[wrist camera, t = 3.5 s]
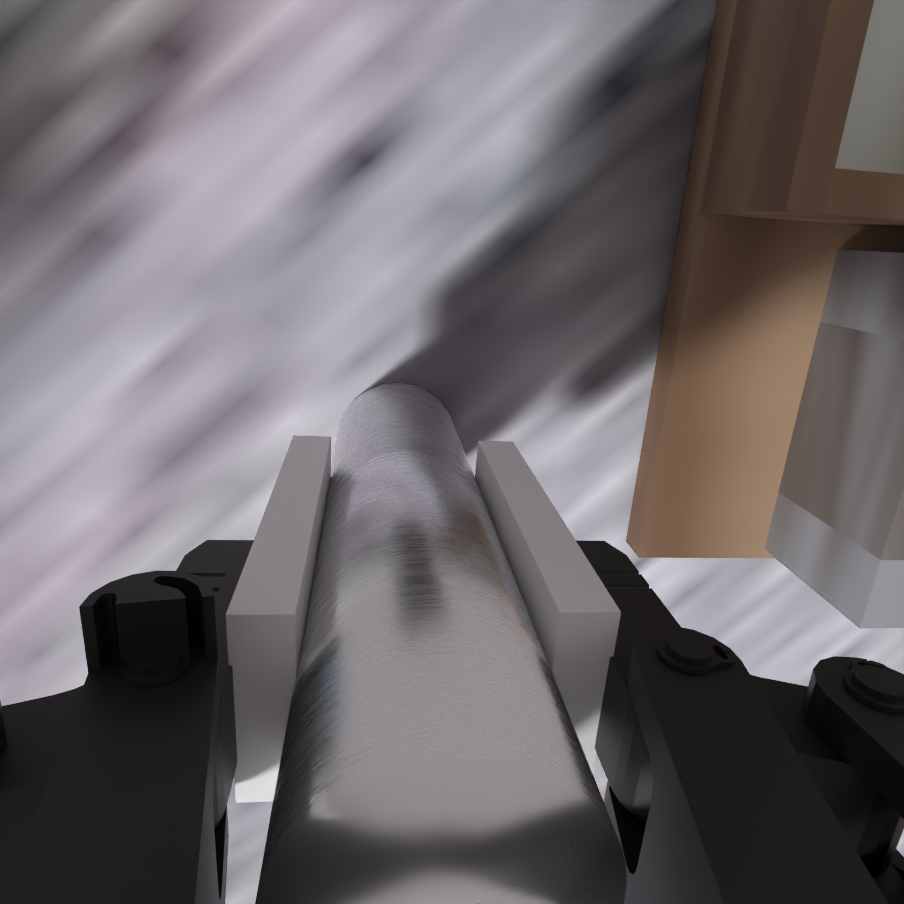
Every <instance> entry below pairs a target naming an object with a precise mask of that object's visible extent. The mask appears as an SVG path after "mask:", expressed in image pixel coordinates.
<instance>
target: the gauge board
mask: <svg viewBox="0 0 904 904" xmlns="http://www.w3.org/2000/svg"><path fill="white" fill-rule="evenodd" d="M626 542H627V543H628V544H629V546H630V547H631V548H632V549H633V551H634V552H635V553H636V554H637V556H638V557H671V558H776V559H777V560H778V561H779V562H781V563H782V564H783V565H784V566H786V567H787V568H788V569H789V570H790V571H792V572H793V573H794V574H795V575H796V576H798V577H799V578H800V579H801V580H802V581H804V582H805V583H806V584H807V585H808V586H810V587H811V588H812V589H813V590H814V591H816V592H817V593H818V594H819V595H820V596H822V597H823V598H824V599H825V600H826V601H828V602H829V603H830V604H831V605H832V606H834V607H835V608H836V609H837V610H838V611H840V612H841V613H842V614H843V615H844V616H846V617H847V618H848V619H849V620H850V621H852V622H853V623H854V624H855V625H856V626H858V627H859V628H904V0H717V5H716V11H715V17H714V23H713V29H712V35H711V41H710V47H709V52H708V58H707V64H706V70H705V76H704V82H703V88H702V94H701V100H700V106H699V112H698V118H697V124H696V130H695V136H694V142H693V147H692V153H691V159H690V165H689V171H688V177H687V183H686V189H685V195H684V201H683V207H682V213H681V219H680V225H679V231H678V237H677V242H676V248H675V254H674V260H673V266H672V272H671V278H670V284H669V290H668V296H667V302H666V308H665V314H664V320H663V326H662V332H661V338H660V343H659V349H658V355H657V361H656V367H655V373H654V379H653V385H652V391H651V397H650V403H649V409H648V415H647V421H646V427H645V433H644V438H643V444H642V450H641V456H640V462H639V468H638V474H637V480H636V486H635V492H634V498H633V504H632V510H631V516H630V522H629V528H628V534H627V539H626Z"/></svg>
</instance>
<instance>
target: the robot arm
mask: <svg viewBox="0 0 904 904" xmlns="http://www.w3.org/2000/svg"><path fill="white" fill-rule="evenodd" d="M330 478H331V437H321V436H293V439H292V441H291V444H290V447H289V449H288V452H287V454H286V457H285V460H284V462H283V465H282V468H281V470H280V473H279V476H278V478H277V481H276V483H275V486H274V489H273V491H272V494H271V497H270V499H269V502H268V505H267V507H266V510H265V513H264V515H263V518H262V520H261V523H260V526H259V528H258V531H257V534H256V536H255V539H254V540H206V541H205V542H204V543H202V544H201V545H199V546H198V547H196V548H195V549H193V550H192V551H191V552H189V553H188V554H186V555H185V556H184V558H183V560H182V562H181V563H180V565H179V567H178V569H177V570H176V571H152V572H146V573H140V574H133V575H130V576H127V577H124V578H121V579H118V580H115V581H112V582H109V583H108V584H106V585H104V586H103V587H101V588H99V589H98V590H96V591H94V592H93V593H91V594H90V595H89V596H88V597H87V598H86V600H85V601H84V602H83V603H82V604H81V606H80V607H79V608H80V616H81V623H82V630H83V637H84V645H85V652H86V659H87V667H88V676H87V678H86V681H85V684H84V685H83V686H81V687H78V688H76V689H73V690H70V691H66V692H63V693H59V694H56V695H52V696H47V697H43V698H38V699H34V700H29V701H24V702H20V703H15V704H11V705H6V706H1V701H0V904H225V894H226V875H227V855H228V836H229V834H228V817H227V802H228V798H229V794H230V790H231V786H232V782H233V778H234V777H235V796H236V803H243V802H267V801H273V800H274V794H275V789H276V783H277V777H278V771H279V766H280V760H281V754H282V749H283V743H284V737H285V731H286V726H287V720H288V714H289V709H290V703H291V697H292V693H293V688H294V684H295V681H296V677H297V671H298V665H299V659H300V653H301V647H302V642H303V636H304V630H305V624H306V618H307V612H308V607H309V601H310V595H311V589H312V583H313V577H314V572H315V566H316V560H317V554H318V548H319V542H320V537H321V531H322V525H323V519H324V513H325V507H326V502H327V496H328V490H329V484H330ZM475 480H476V482H477V485H478V487H479V490H480V492H481V495H482V497H483V500H484V502H485V505H486V507H487V510H488V512H489V515H490V517H491V520H492V522H493V525H494V527H495V530H496V532H497V535H498V537H499V540H500V542H501V545H502V547H503V550H504V553H505V555H506V558H507V560H508V563H509V565H510V568H511V570H512V573H513V575H514V578H515V580H516V583H517V585H518V588H519V590H520V593H521V595H522V598H523V600H524V603H525V605H526V608H527V610H528V613H529V615H530V618H531V620H532V623H533V626H534V628H535V631H536V633H537V636H538V638H539V641H540V643H541V646H542V648H543V651H544V653H545V656H546V658H547V661H548V663H549V666H550V668H551V671H552V673H553V676H554V678H555V681H556V683H557V686H558V688H559V691H560V693H561V696H562V699H563V701H564V704H565V706H566V709H567V711H568V714H569V716H570V719H571V721H572V724H573V726H574V729H575V731H576V734H577V736H578V739H579V741H580V744H581V746H582V749H583V751H584V754H585V756H586V759H587V761H588V764H589V766H590V769H591V772H592V774H593V772H594V766H595V760H596V755H598V757H599V760H600V762H601V764H602V767H603V769H604V772H605V774H606V776H607V779H608V783H607V788H606V794H605V799H604V804H605V807H606V809H607V812H608V814H609V817H610V819H611V822H612V824H613V827H614V829H615V832H616V834H617V837H618V839H619V842H620V845H621V847H622V851H623V855H624V859H625V863H626V876H627V884H626V892H625V899H624V903H623V904H904V857H903V856H902V855H901V854H900V853H899V851H898V850H897V849H896V847H897V845H898V842H899V840H900V837H901V834H902V832H903V829H904V675H903V674H902V673H899V672H897V671H895V670H892V669H890V668H888V667H886V666H885V665H883V664H881V663H878V662H874V661H871V660H870V661H867V659H861V658H854V657H836V656H835V657H831V658H827V659H823V660H820V661H819V663H818V664H817V665H816V666H815V668H814V669H813V672H812V676H811V679H810V682H809V686H808V687H807V686H802V685H796V684H791V683H786V682H781V681H776V680H770V679H765V678H760V677H757V676H753V675H750V674H749V673H748V671H747V669H746V668H745V666H744V664H743V663H742V661H741V660H740V659H739V658H738V657H737V655H736V654H735V653H734V652H733V651H732V650H731V649H730V648H729V647H727V646H726V645H724V644H722V643H721V642H719V641H718V640H716V639H715V638H713V637H710V636H708V635H705V634H703V633H700V632H697V631H695V630H691V629H686V628H681V627H680V625H679V624H678V623H677V621H676V620H675V619H674V617H673V616H672V615H671V613H670V612H669V611H668V609H667V608H666V607H665V606H664V604H663V603H662V602H661V600H660V599H659V598H658V596H657V595H656V594H655V592H654V591H653V590H652V589H649V584H648V583H647V582H646V580H645V579H644V578H643V577H642V575H639V571H638V570H637V569H636V567H635V566H634V565H633V563H632V562H631V561H630V559H629V558H628V557H627V555H625V554H624V553H622V552H621V551H619V550H617V549H616V548H614V547H613V546H611V545H610V544H608V543H607V542H605V541H576V540H575V539H574V537H573V536H572V534H571V533H570V531H569V529H568V528H567V526H566V525H565V523H564V522H563V520H562V518H561V517H560V515H559V514H558V512H557V511H556V509H555V507H554V506H553V504H552V503H551V501H550V499H549V498H548V496H547V495H546V493H545V492H544V490H543V488H542V487H541V485H540V484H539V482H538V481H537V479H536V477H535V476H534V474H533V473H532V471H531V470H530V468H529V466H528V465H527V463H526V462H525V460H524V459H523V457H522V455H521V454H520V452H519V451H518V449H517V448H516V446H515V444H514V443H513V442H502V441H478V449H477V461H476V473H475Z"/></svg>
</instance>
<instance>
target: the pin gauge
mask: <svg viewBox="0 0 904 904" xmlns="http://www.w3.org/2000/svg"><path fill="white" fill-rule="evenodd" d="M626 884H627V876H626V863H625V859H624V855H623V851H622V847H621V845H620V842H619V839H618V837H617V834H616V832H615V829H614V827H613V824H612V822H611V819H610V817H609V814H608V812H607V809H606V807H605V804H604V802H603V799H602V797H601V794H600V792H599V789H598V787H597V784H596V782H595V779H594V777H593V774H592V772H591V769H590V766H589V764H588V761H587V759H586V756H585V754H584V751H583V749H582V746H581V744H580V741H579V739H578V736H577V734H576V731H575V729H574V726H573V724H572V721H571V719H570V716H569V714H568V711H567V709H566V706H565V704H564V701H563V699H562V696H561V693H560V691H559V688H558V686H557V683H556V681H555V678H554V676H553V673H552V671H551V668H550V666H549V663H548V661H547V658H546V656H545V653H544V651H543V648H542V646H541V643H540V641H539V638H538V636H537V633H536V631H535V628H534V626H533V623H532V620H531V618H530V615H529V613H528V610H527V608H526V605H525V603H524V600H523V598H522V595H521V593H520V590H519V588H518V585H517V583H516V580H515V578H514V575H513V573H512V570H511V568H510V565H509V563H508V560H507V558H506V555H505V553H504V550H503V547H502V545H501V542H500V540H499V537H498V535H497V532H496V530H495V527H494V525H493V522H492V520H491V517H490V515H489V512H488V510H487V507H486V505H485V502H484V500H483V497H482V495H481V492H480V490H479V487H478V485H477V482H476V480H475V477H474V474H473V472H472V469H471V467H470V464H469V462H468V459H467V457H466V454H465V452H464V449H463V447H462V444H461V442H460V439H459V437H458V434H457V432H456V429H455V427H454V424H453V422H452V419H451V417H450V415H449V413H448V411H447V409H446V408H445V406H444V405H443V404H442V403H441V401H439V400H438V399H437V398H436V397H435V396H434V395H433V394H431V393H430V392H428V391H426V390H424V389H423V388H420V387H418V386H415V385H411V384H406V383H388V384H382V385H379V386H376V387H373V388H371V389H369V390H367V391H365V392H364V393H362V394H361V395H359V396H358V397H357V398H356V399H355V400H354V401H353V402H352V403H351V404H350V405H349V407H348V408H347V409H346V411H345V413H344V415H343V416H342V419H341V422H340V424H339V429H338V434H337V440H336V445H335V451H334V457H333V463H332V468H331V478H330V484H329V490H328V496H327V502H326V507H325V513H324V519H323V525H322V531H321V537H320V542H319V548H318V554H317V560H316V566H315V572H314V577H313V583H312V589H311V595H310V601H309V607H308V612H307V618H306V624H305V630H304V636H303V642H302V647H301V653H300V659H299V665H298V671H297V677H296V681H295V684H294V688H293V693H292V697H291V703H290V709H289V714H288V720H287V726H286V731H285V737H284V743H283V749H282V754H281V760H280V766H279V771H278V777H277V783H276V789H275V794H274V800H273V806H272V811H271V817H270V823H269V829H268V834H267V840H266V846H265V852H264V857H263V863H262V869H261V874H260V880H259V886H258V892H257V897H256V903H255V904H623V903H624V899H625V892H626Z"/></svg>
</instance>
